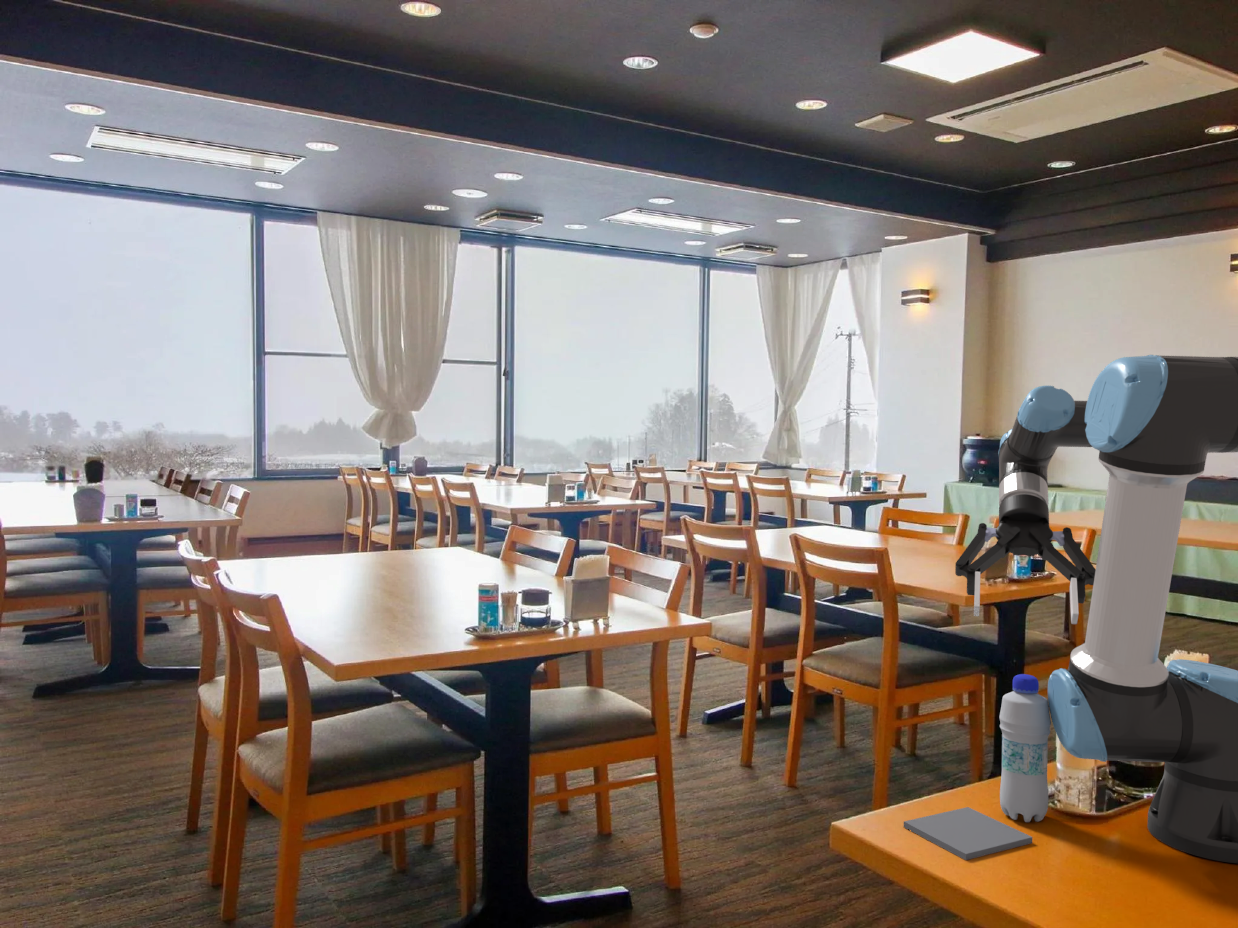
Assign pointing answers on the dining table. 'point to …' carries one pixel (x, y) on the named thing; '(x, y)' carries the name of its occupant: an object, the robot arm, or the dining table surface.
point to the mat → (967, 833)
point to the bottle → (1024, 750)
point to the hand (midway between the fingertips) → (1025, 615)
